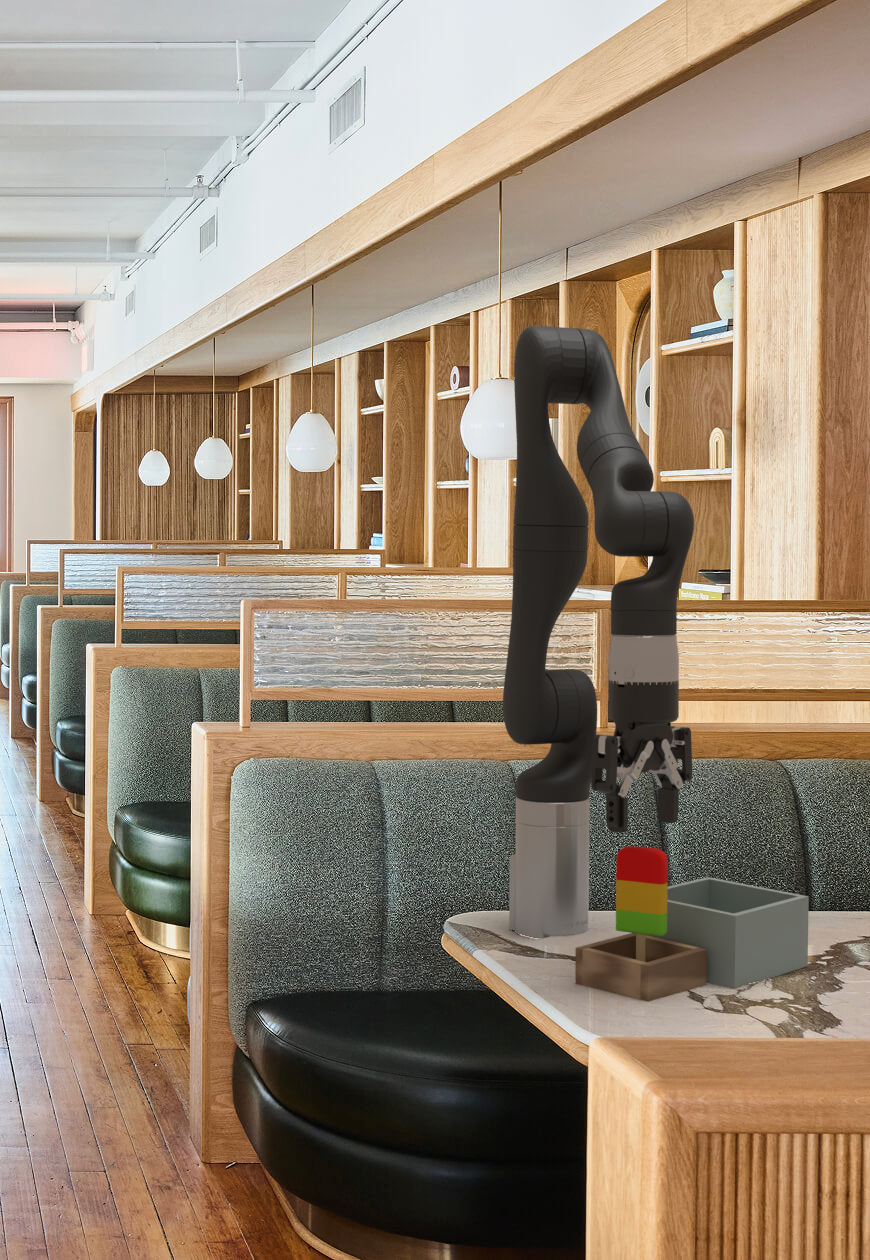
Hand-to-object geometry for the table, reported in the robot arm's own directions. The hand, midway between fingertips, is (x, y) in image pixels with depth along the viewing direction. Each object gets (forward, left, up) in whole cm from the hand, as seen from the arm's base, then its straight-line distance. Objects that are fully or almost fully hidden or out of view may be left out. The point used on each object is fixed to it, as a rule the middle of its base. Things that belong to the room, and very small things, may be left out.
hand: (642, 826), depth 160 cm
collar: (0, 0, -17) cm, 17 cm away
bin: (+1, +13, -17) cm, 22 cm away
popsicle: (0, 0, -18) cm, 18 cm away
